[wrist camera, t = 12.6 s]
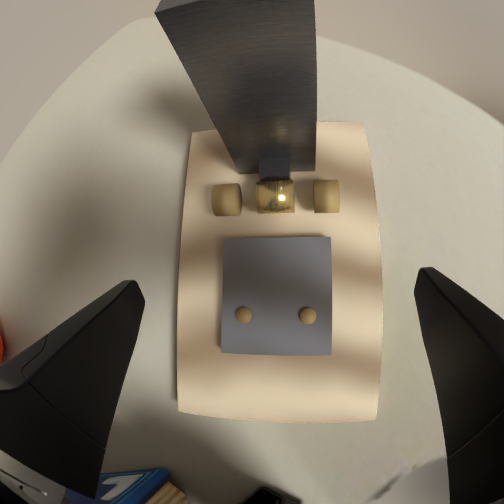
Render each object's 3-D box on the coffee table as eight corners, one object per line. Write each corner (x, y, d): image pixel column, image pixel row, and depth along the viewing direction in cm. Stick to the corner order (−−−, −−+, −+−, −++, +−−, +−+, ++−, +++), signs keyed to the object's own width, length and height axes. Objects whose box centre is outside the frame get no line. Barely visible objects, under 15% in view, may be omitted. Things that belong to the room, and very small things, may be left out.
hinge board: (372, 414, 17) (383, 431, 14) (184, 407, 20) (165, 420, 17) (361, 130, 22) (367, 105, 18) (196, 139, 24) (182, 117, 21)
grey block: (317, 216, 20) (330, 41, 6) (238, 219, 21) (127, 73, 7) (312, 136, 21) (303, -39, 7) (241, 140, 22) (171, -19, 8)
